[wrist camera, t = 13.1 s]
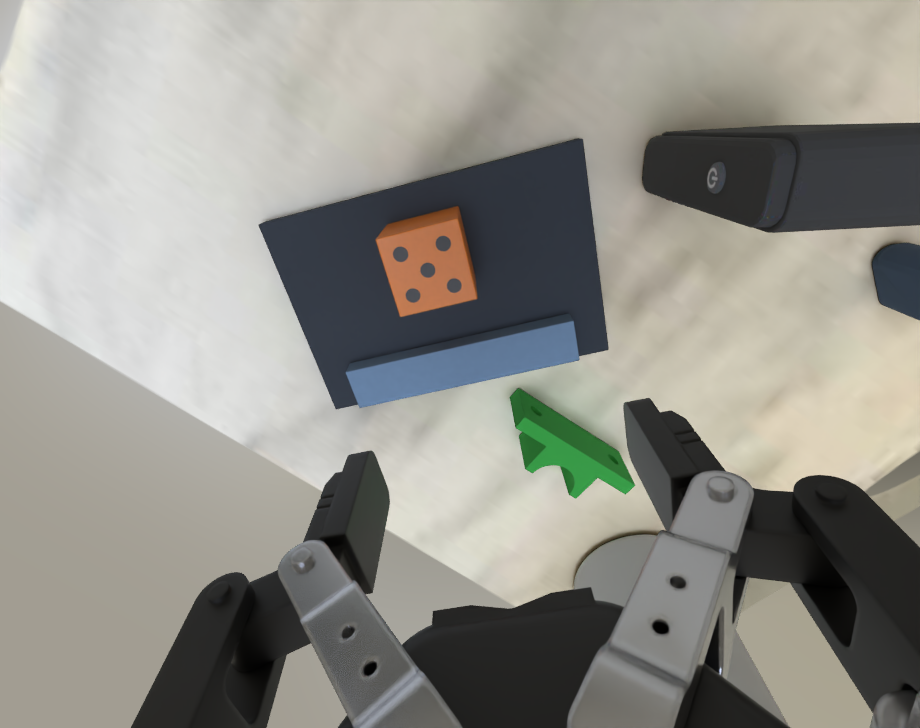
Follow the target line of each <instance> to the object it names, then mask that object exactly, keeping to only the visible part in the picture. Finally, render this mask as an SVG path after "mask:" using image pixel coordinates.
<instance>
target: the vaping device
mask: <svg viewBox="0 0 920 728" xmlns="http://www.w3.org/2000/svg"><path fill="white" fill-rule="evenodd" d="M872 267H873V272H874V277H875V282H876V287H877V292H878V297H879V301H880V303H881V304H882V305H884V306H886V307H889V308H891V309H893V310H896V311H898V312H901V313H903V314H905V315H908V316H910V317H913V318H915V319H918V320H920V246H919V245H915V244H911V243H899V244H893V245H889V246H887V247H885V248H883V249H882V250H881V251H880V252H878V254H877V255H876V256H875V258H874V259H873V262H872Z"/></svg>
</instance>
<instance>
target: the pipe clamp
mask: <svg viewBox="0 0 920 728" xmlns="http://www.w3.org/2000/svg"><path fill="white" fill-rule="evenodd" d="M510 401H511V406H512V411H513V417H514V422H515V427H516V428H517V429H519V430H520V431H522V433H521V434H520V435H519V439H520V444H521V450H522V455H523V460H524V465H525V469H526V470H528V471H530V472H531V473H534V472H535V471H536V470H537V469H539V468H541V467H544V466H548V465H557V466H561V470H562V473H563V476H564V480H565V483H566V486H567V490H568V493H569V495H571V496H572V497H574V498H577V497H578V496H579V495H580V494H581V493H582V492H583V491H584V490H585V489H586V488H587V487H588V486H590V485H591V484H592V483H593V482H594V481H595V480H596V479H597V478H599V479H601V480H603V481H604V482H606V483H608V484H609V485H611V486H612V487H614V488H616V489H617V490H619V491H621V492H622V493H624V494H626V493H628V492H629V491H630V490H631V489H632V488H633V487H634V486H635V484H634V482H633V480H632V478H631V476H630V474H629V472H628V470H627V468H626V466H625V464H624V462H623V459H622V457H621V455H620V453H619V451H617V450H615V449H614V448H612V447H611V446H609V445H608V444H606V443H604V442H603V441H601V440H600V439H598V438H596V437H595V436H593V435H592V434H590V433H589V432H587V431H585V430H584V429H582V428H581V427H579V426H578V425H576V424H574V423H573V422H571V421H570V420H568V419H567V418H565V417H563V416H562V415H560V414H559V413H557V412H556V411H554V410H552V409H551V408H549V407H548V406H546V405H545V404H543V403H541V402H540V401H538V400H537V399H535V398H534V397H532V396H530V395H529V394H527V393H526V392H524V391H522V390H521V389H519V388H518V389H517V390H516V391H515V392H514V393H513V394H512V396H511V397H510Z"/></svg>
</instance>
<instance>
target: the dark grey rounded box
mask: <svg viewBox="0 0 920 728" xmlns="http://www.w3.org/2000/svg"><path fill="white" fill-rule="evenodd" d="M642 180H643V185H644V188H645V190H646V191H647V192H649V193H651V194H654V195H657V196H660V197H662V198H665V199H666V200H671V201H672V202H676V203H679V204H681V205H685V206H687V207H691V208H694V209H697V210H700V211H703V212H706V213H709V214H712V215H715V216H718V217H721V218H724V219H727V220H730V221H733V222H736V223H739V224H742V225H745V226H748V227H753V228H756V229H759V230H762V231H765V232H773V233H775V232H794V231H814V230H833V229H852V228H872V227H891V226H911V225H920V123H886V124H835V125H781V126H761V127H744V128H726V129H708V130H691V131H673V132H665V133H663V134H662V135H661V136H656V137H654V138H652V139H651V140H650V141H649V143H648V145H647V147H646V150H645V158H644V168H643V177H642Z"/></svg>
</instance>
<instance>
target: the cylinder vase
mask: <svg viewBox="0 0 920 728" xmlns="http://www.w3.org/2000/svg"><path fill="white" fill-rule="evenodd" d="M656 537H657V535H632V536H627V537H622V538H619V539H616V540H613V541H611V542H608V543H606V544H604V545H602V546H601V547H599V548H598V549H596V550H595V551H593V552H592V553H591V554H590V555H589V556H588V557H587V558H586V559H585V560H584V561H583V563H582V564H581V565H580V567H579V569H578V571H577V573H576V576H575V581H574V589H581V588H587V587H591V589H592V592H593V596H594V599H595V600H599V601H606V602H611V603H614V604H617V605H621V606H623V607H624V606H625V604H626V602H627V600H628V597H629V595H630V593H631V591H632V589H633V587H634V584H635V582H636V580H637V578H638V576H639V574H640V571H641V569H642V567H643V565H644V563H645V561H646V558H647V556H648V554H649V552H650V550H651V548H652V545H653V543H654V541H655V539H656ZM726 680H728V681H729V682H730V683H732V684H733V685H734V686H736V687H737V688H738V689H740V690H741V691H742V692H744V693H745V694H746V695H748V696H749V697H750V698H752V699H753V700H754V701H756V702H757V703H758V704H760V705H761V706H762V707H764V708H765V709H766V710H768V711H769V712H770V713H771V714H773V715H774V716H775V717H777V718H778V719H779V720H781V721H782V722H783V723H785V724H786V725H787V726H788V724H787V722H786V720H785V718H784V716H783V715H782V713H781V711H780V709H779V707H778V706H777V704H776V702H775V700H774V698H773V696H772V695H771V693H770V691H769V690H768V687H767V686H766V684H765V682H764V680H763V678H762V677H761V675H760V673H759V671H758V669H757V668H756V666H755V664H754V662H753V660H752V658H751V657H750V655H749V653H748V651H747V649H746V648H745V646H744V644H743V642H742V640H741V639H740V637H739V635H738V633H737V631H735V635H734V640H733V646H732V653H731V660H730V666H729V671H728V675H727V679H726Z"/></svg>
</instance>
